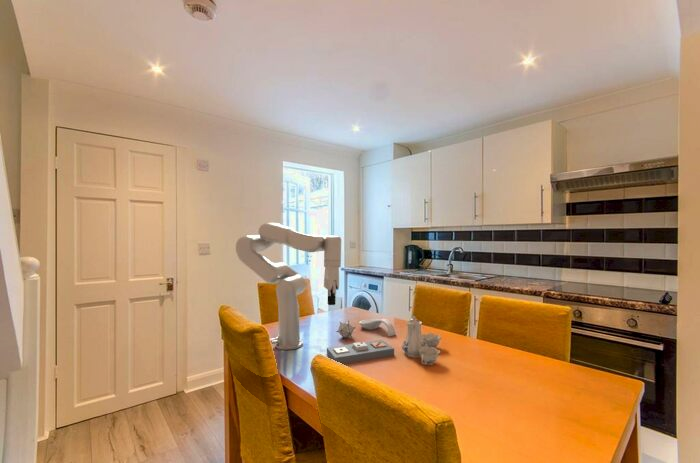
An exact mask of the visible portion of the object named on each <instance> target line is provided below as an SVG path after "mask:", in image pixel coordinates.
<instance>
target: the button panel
mask: <svg viewBox="0 0 700 463" xmlns="http://www.w3.org/2000/svg"><path fill="white" fill-rule="evenodd" d="M363 342H364V341H363ZM375 342H382V343H384V344H385V345H386V347H382V348H374V347H373V346H371V343H375ZM364 343H366V344H367V345H368V350H362V351H355V350H354V349H353V343H349V344H344V345H337V346H331V347H330V346H329V347H326V355H327V357H328V358H329V359H330V358H331V359H333V360H335V361H337V362H340V363H342V364H341V365H347V364H351V363H357V362H358V363H359V362H364V361H370V360H376V359H382V358H388V357H393V356H395V347H393V346H391V344H388V343H387V342H386V341H384V340H383V339H377V340H372V341H365V342H364ZM341 347H345V348H346V349H347V350H348V351H349V353H343V354H336V353H335V352H334V349H335V348H341ZM331 359H330V360H331Z"/></svg>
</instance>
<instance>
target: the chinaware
mask: <svg viewBox="0 0 700 463" xmlns="http://www.w3.org/2000/svg"><path fill="white" fill-rule="evenodd" d="M405 323H406V325H407V331H406V332H407V333H406V336H405V339H404V341H403V342H402V345H401V349H402V350H403V351H404V355H406V357H410V358H421V364H423V365H426V366H427V365H429V366H432V365H434V363H435V362H436V361H437V359H439V358H438V357H439V354H440V353H441V349H438V348H437V347H438V346H439V345H440V342H441V340H442V337H441V335H440V334H434V333H432V332H431V333H430V332H429V333H426V334H422V328H421V327H422V323H423V322H422V321H420V320H418V319H417V318H416V316H415V315H413V316H412V318H411V319H410V320H407V321H406V322H405Z"/></svg>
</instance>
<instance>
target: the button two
mask: <svg viewBox="0 0 700 463" xmlns="http://www.w3.org/2000/svg"><path fill="white" fill-rule="evenodd" d="M352 344H353V349H354V350H355V351H362V350H368V345H367V344H366V343H364V341H360V342H359V341H358V342H352Z"/></svg>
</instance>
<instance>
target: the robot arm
mask: <svg viewBox="0 0 700 463" xmlns="http://www.w3.org/2000/svg"><path fill="white" fill-rule="evenodd" d="M274 244H279V245H283V246H287V247H290V248H292V249H294V250H297V251H302V252H306V253H318V252H323V251H324V252H323V268H324V275H323V278H324V279H323V287H324V288H325V289H326V290H327V305H328V306H335V305H336V299H337V298H336V296H337V291H338V290H339V288H340V268H341V265H342V264H341V263H342V238H341V237H340V236H339V235H323V234H322V235H321V234H320V235H319V234H306V233H302V232H300V231H299V232H298V231H296V230H295V229H294V228H293V227H290V226H284V225H282V224H280V223H279V222H278V223H277V222H265V223H263V224H261V225H260V226H259V227H258V234H252V235H251V234H246V235H243V236H240V237H239V238H238V240H237V241H236V243H235V253H236V255H237V257H238V259H239V261H241V262H242V264H244V265H245V266H246V267H247V268H248V269H250V270H251V271H253V273H255V274H256V275H258V276H259V278H261V279H262V280H263V281H264V282H265V283H267V284H270V285H274V284H276V287H275V293H276V298H277V306H278V307H277V308H278V310H277V311H278V312H277V313H278V335H277V336H276V337H273V338H269V339H270V340H271V343H270V344H272V345H273V344H275V348H276V349H278V350H280V351H281V350H283V351H290V350H296V349H299V348H301V347H303V345H304V341H303V339H301V338H300V336H301V335H300V334H301V332H300V304H299V301H298V295H301V294H303V293H304V292H305V290H306V289H307V282H306V280H305V279H306V278H304V277H303V276H302V275H301V274H300V273H299V272H297V271H296V270H295V269H294V268H292V267H291V266H290V265H289V264H287V263H285V262H272V261H270V260H269V259H268V258H266V256H264V255H262V254H261V253H259V252H263V251H265V250H267V249H268V248H270V247H271V246H273V245H274Z"/></svg>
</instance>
